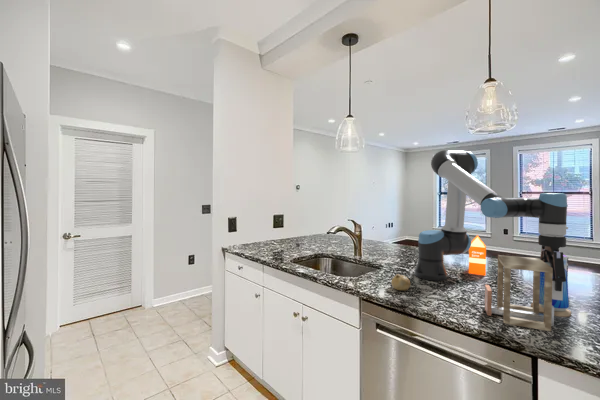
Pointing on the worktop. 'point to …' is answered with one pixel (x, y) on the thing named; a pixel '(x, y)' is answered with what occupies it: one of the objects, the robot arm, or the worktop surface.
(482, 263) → the orange juice
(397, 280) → the onion
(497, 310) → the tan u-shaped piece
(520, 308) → the wooden open frame
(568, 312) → the coaster
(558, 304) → the beer can
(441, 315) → the worktop surface
